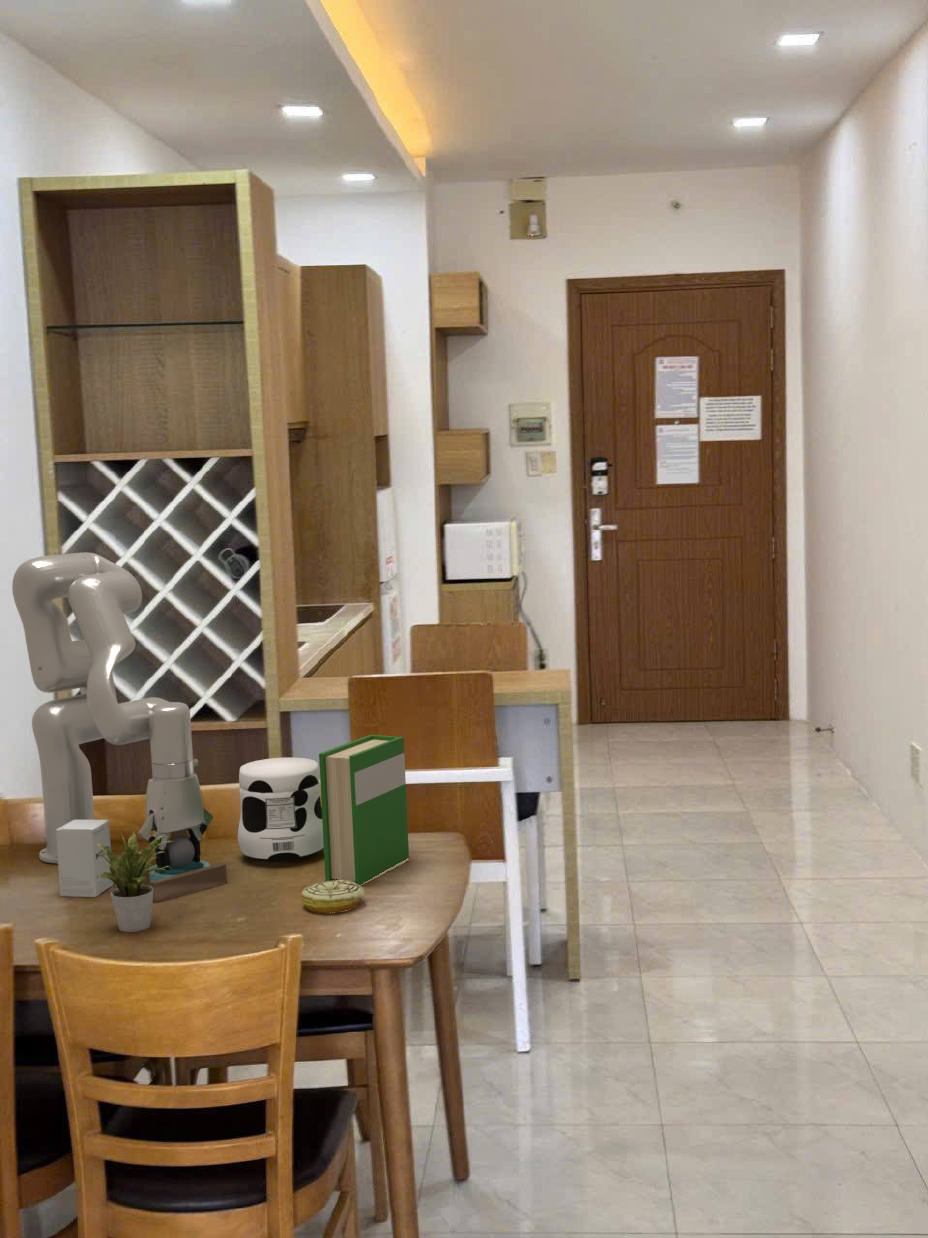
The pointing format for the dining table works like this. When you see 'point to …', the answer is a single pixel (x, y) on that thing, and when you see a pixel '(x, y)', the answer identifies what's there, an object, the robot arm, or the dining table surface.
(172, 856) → the charcoal ball
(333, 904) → the decorated donut
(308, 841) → the milk container
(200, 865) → the teal dish
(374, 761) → the hardback book
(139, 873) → the house plant
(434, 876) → the dining table surface
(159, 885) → the brown wooden bar
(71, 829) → the supplement box
